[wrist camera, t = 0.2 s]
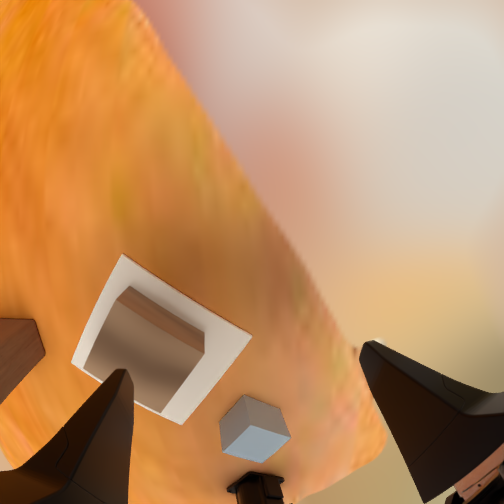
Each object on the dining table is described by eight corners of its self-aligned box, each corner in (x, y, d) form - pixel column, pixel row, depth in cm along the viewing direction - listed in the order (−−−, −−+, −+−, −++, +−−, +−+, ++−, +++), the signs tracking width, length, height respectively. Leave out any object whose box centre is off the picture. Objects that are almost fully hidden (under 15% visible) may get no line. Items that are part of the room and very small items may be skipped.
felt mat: (181, 423, 26) (181, 425, 25) (72, 360, 23) (70, 362, 22) (252, 334, 25) (252, 336, 25) (123, 253, 22) (121, 254, 22)
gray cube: (254, 434, 27) (262, 463, 22) (219, 421, 26) (222, 452, 21) (279, 408, 27) (291, 437, 22) (243, 394, 26) (250, 424, 21)
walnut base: (164, 388, 24) (160, 413, 20) (97, 348, 22) (82, 368, 19) (204, 332, 24) (204, 353, 20) (129, 285, 22) (115, 299, 18)
